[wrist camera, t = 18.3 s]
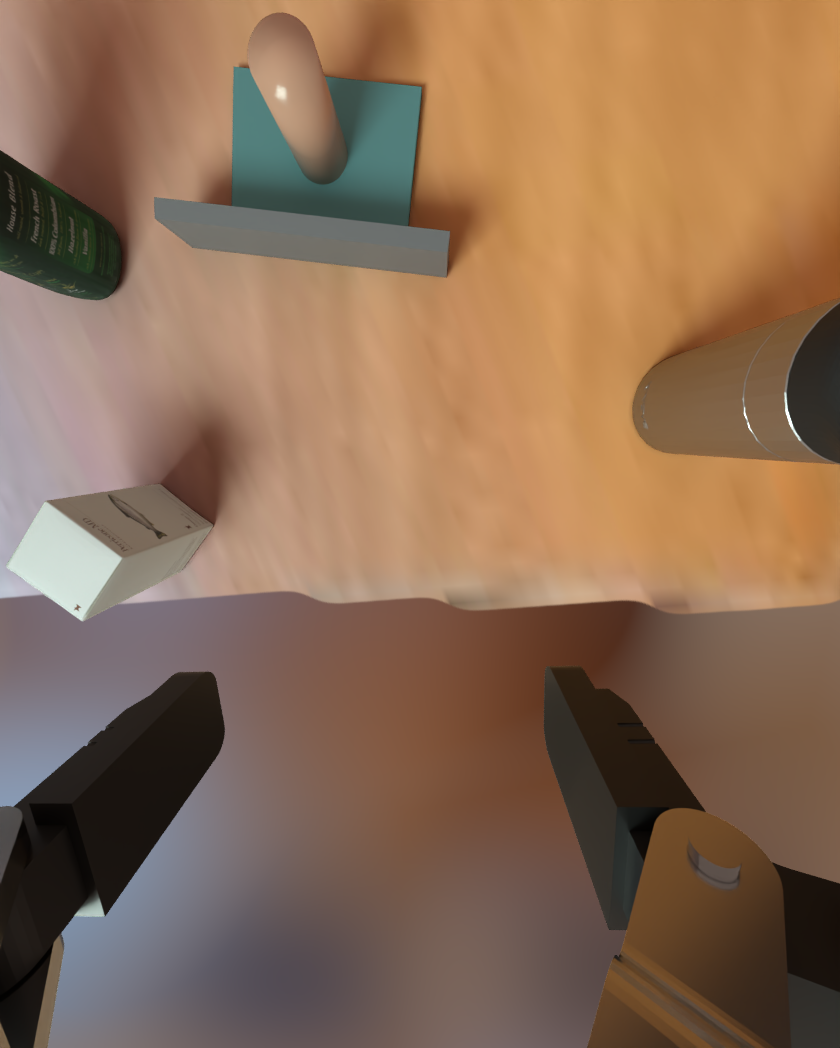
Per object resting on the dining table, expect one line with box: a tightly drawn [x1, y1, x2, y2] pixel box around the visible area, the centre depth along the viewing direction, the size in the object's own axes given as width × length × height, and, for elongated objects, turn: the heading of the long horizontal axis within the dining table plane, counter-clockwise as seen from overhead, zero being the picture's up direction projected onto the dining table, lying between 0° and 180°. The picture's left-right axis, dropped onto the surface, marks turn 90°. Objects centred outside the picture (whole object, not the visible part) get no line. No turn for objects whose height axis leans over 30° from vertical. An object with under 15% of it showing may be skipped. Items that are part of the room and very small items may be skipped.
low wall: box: [154, 197, 450, 277], centre depth 34 cm, size 24×2×5 cm, turn 83°
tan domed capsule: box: [248, 13, 348, 185], centre depth 30 cm, size 4×4×9 cm
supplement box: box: [6, 484, 213, 621], centre depth 37 cm, size 7×7×13 cm
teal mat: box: [232, 67, 422, 226], centre depth 34 cm, size 16×11×1 cm
